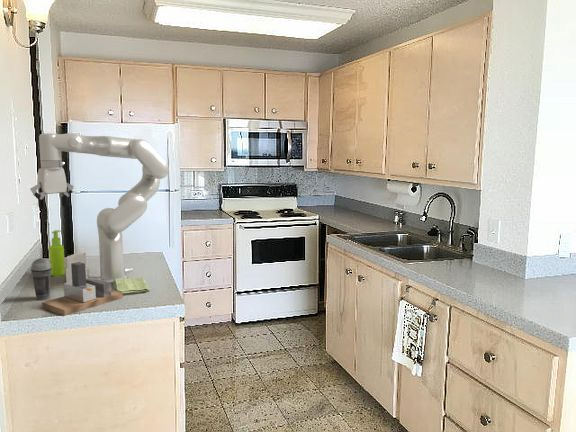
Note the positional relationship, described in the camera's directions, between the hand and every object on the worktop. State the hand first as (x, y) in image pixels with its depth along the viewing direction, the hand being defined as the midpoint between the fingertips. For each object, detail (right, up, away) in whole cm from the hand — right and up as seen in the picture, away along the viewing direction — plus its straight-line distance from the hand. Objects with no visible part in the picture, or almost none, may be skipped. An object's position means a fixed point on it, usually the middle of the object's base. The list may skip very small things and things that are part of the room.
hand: (53, 207), depth 192 cm
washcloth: (+29, -34, +6) cm, 45 cm away
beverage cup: (0, -35, -8) cm, 36 cm away
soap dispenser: (-11, -30, +26) cm, 41 cm away
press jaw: (+17, -34, -15) cm, 41 cm away
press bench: (+18, -36, -13) cm, 42 cm away
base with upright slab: (+3, -32, +14) cm, 35 cm away
